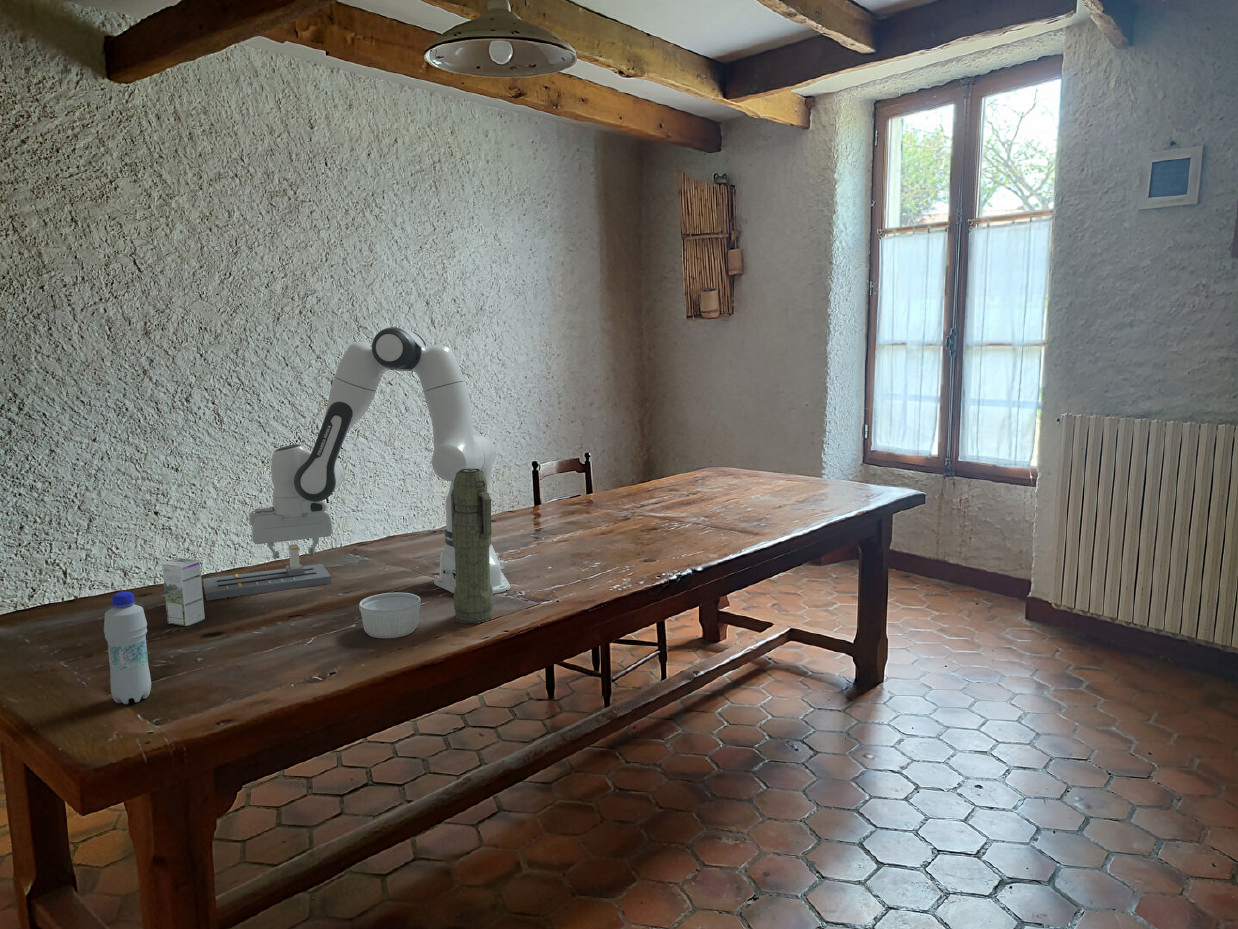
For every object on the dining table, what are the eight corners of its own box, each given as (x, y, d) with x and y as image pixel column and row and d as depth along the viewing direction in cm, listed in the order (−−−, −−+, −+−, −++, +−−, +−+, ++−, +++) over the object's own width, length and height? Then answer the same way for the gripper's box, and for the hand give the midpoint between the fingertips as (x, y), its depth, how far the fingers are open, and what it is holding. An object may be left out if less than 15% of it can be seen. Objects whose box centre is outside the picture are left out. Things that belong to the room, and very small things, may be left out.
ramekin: (398, 617, 194) (397, 588, 193) (434, 629, 186) (433, 599, 185) (348, 632, 184) (347, 602, 183) (383, 646, 176) (382, 614, 175)
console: (331, 583, 221) (331, 575, 220) (206, 600, 206) (205, 591, 206) (322, 570, 233) (321, 562, 232) (203, 586, 218) (202, 577, 218)
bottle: (122, 692, 153) (112, 587, 150) (160, 690, 153) (151, 586, 150) (103, 707, 146) (92, 598, 143) (142, 706, 147) (132, 597, 144)
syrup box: (206, 619, 193) (201, 558, 190) (185, 627, 187) (180, 565, 185) (186, 616, 194) (182, 556, 192) (165, 624, 189) (160, 562, 187)
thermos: (481, 627, 187) (477, 474, 181) (442, 618, 193) (437, 470, 187) (506, 616, 194) (502, 469, 189) (467, 608, 200) (463, 465, 195)
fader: (304, 574, 221) (303, 546, 220) (288, 576, 219) (287, 548, 218) (301, 569, 226) (300, 542, 224) (286, 571, 224) (284, 544, 223)
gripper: (249, 511, 212) (253, 563, 214) (332, 504, 222) (335, 554, 224) (247, 507, 217) (250, 558, 220) (328, 500, 227) (330, 549, 229)
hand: (294, 556), depth 222 cm, fingers open, 8 cm apart
